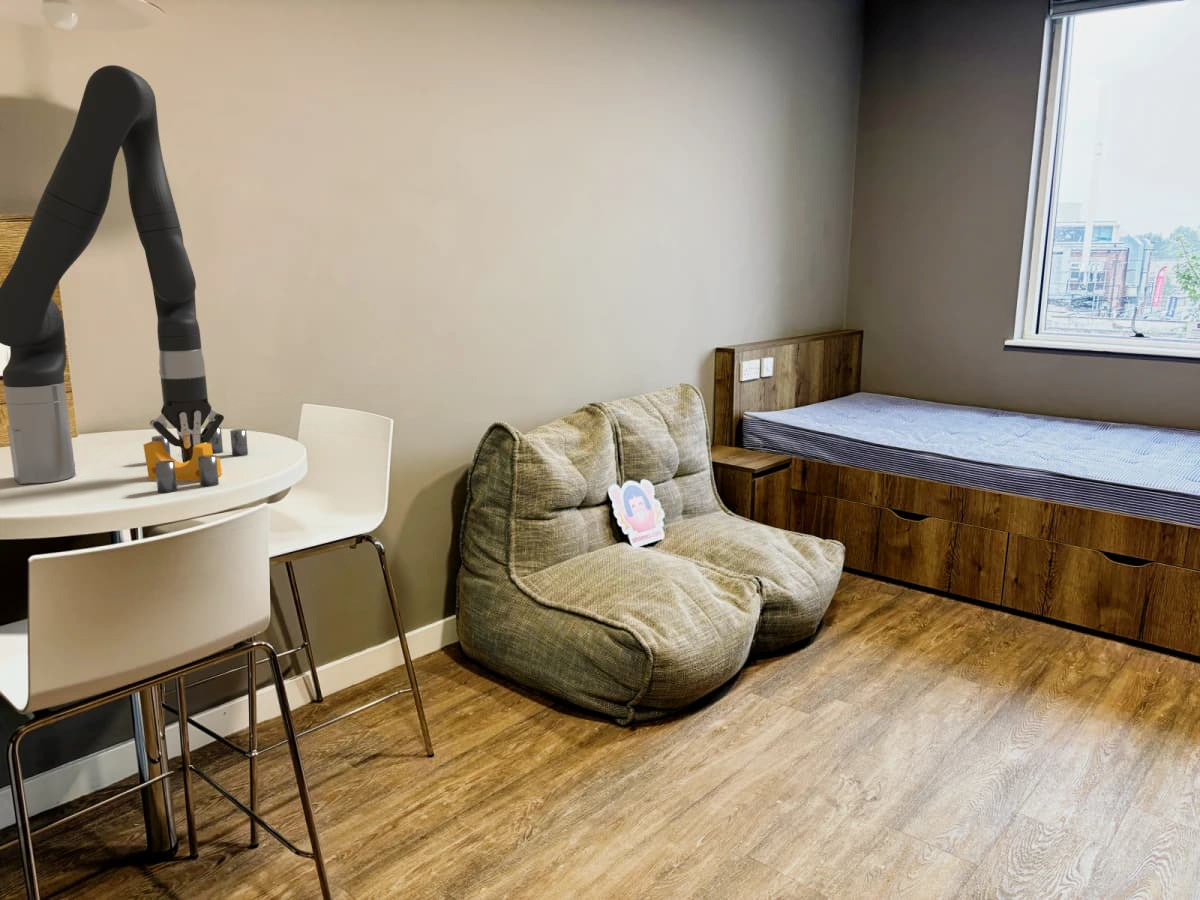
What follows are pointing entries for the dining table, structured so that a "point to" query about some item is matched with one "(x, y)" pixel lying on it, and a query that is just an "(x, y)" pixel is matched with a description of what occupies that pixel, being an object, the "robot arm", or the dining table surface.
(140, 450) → the dining table surface
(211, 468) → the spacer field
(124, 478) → the dining table surface
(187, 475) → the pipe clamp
